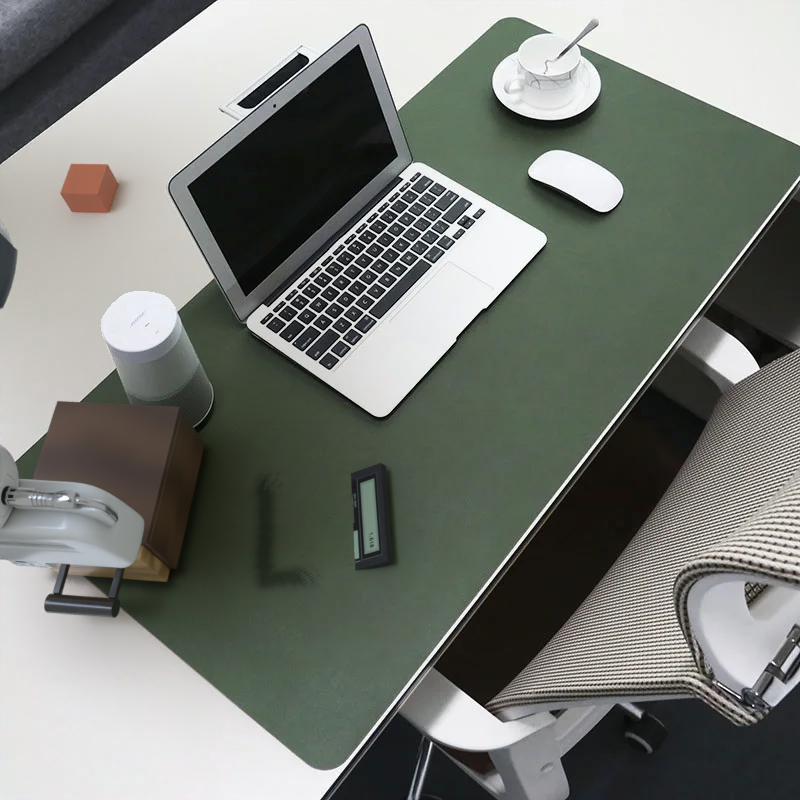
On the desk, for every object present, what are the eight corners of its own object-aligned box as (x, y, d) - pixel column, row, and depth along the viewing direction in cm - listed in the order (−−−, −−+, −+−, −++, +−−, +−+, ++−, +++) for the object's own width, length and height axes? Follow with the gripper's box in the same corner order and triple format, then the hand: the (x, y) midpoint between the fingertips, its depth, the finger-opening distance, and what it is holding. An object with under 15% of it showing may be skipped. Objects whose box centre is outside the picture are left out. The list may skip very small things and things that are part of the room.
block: (76, 219, 98) (59, 193, 94) (86, 190, 100) (70, 163, 97) (113, 220, 98) (97, 194, 94) (122, 191, 100) (107, 164, 96)
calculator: (267, 487, 80) (260, 475, 78) (388, 475, 80) (385, 462, 77) (267, 583, 76) (260, 573, 73) (395, 570, 75) (392, 560, 73)
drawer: (157, 632, 74) (126, 611, 67) (46, 623, 75) (5, 602, 68) (195, 466, 81) (170, 433, 74) (93, 460, 82) (60, 428, 76)
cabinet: (180, 573, 77) (146, 541, 69) (62, 564, 78) (14, 532, 70) (208, 448, 83) (179, 406, 75) (97, 442, 84) (57, 400, 76)
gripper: (109, 450, 52) (181, 526, 64) (-191, 434, 54) (-67, 510, 66) (82, 548, 49) (162, 608, 61) (-234, 527, 51) (-97, 588, 63)
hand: (40, 557), depth 63 cm, fingers closed
